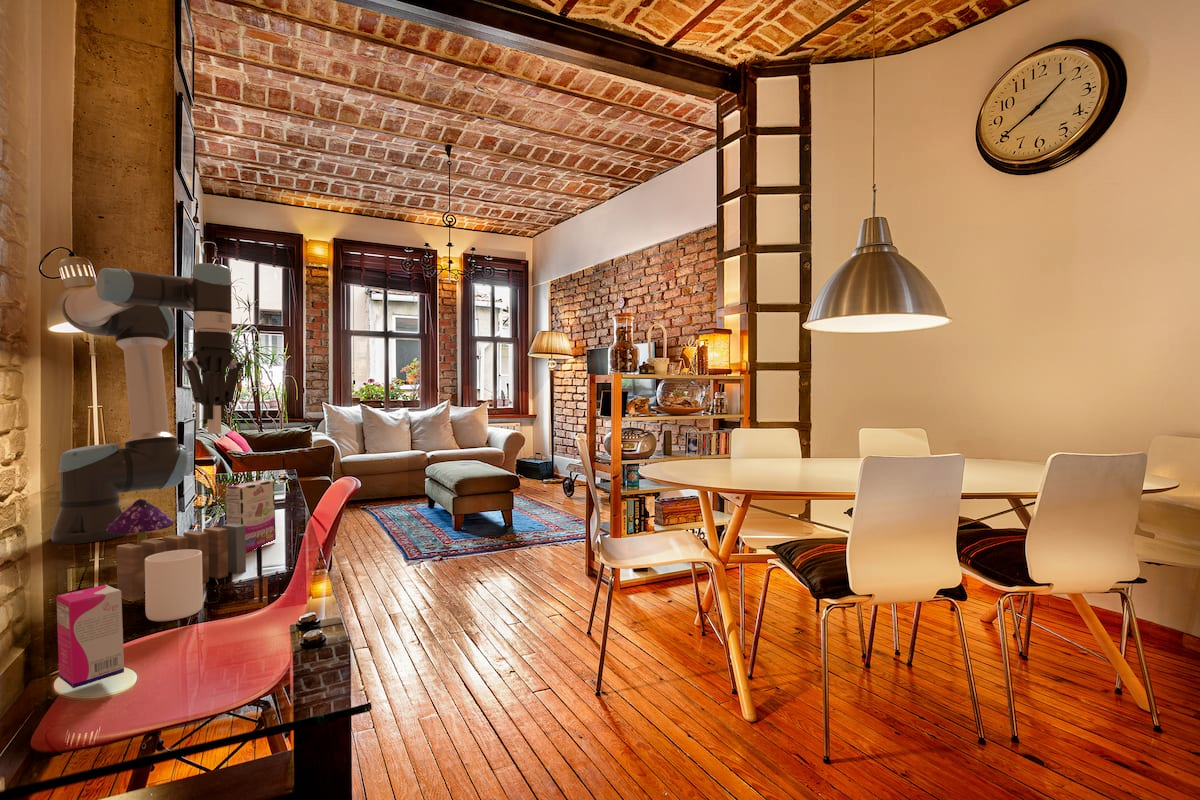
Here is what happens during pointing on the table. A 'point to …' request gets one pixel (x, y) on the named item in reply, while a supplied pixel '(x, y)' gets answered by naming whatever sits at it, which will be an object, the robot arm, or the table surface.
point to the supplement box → (90, 635)
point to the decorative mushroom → (140, 520)
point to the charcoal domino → (236, 548)
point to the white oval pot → (173, 584)
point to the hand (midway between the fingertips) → (214, 433)
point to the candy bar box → (252, 511)
